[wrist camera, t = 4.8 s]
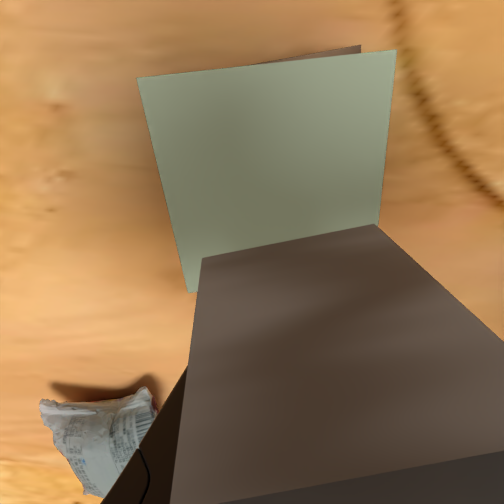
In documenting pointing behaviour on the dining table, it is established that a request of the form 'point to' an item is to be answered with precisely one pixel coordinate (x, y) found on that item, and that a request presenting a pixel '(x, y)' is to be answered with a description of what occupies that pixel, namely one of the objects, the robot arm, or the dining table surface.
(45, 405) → the packaged food
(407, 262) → the grey block
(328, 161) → the top block
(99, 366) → the dining table surface
